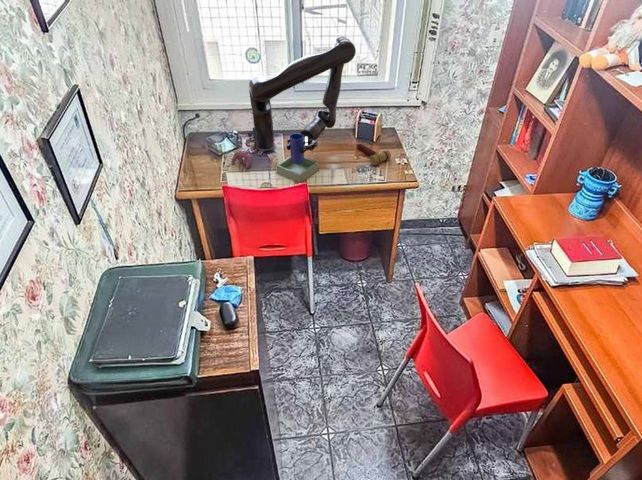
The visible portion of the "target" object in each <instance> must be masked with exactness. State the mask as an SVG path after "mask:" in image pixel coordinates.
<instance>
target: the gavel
mask: <svg viewBox="0 0 642 480" xmlns="http://www.w3.org/2000/svg"><path fill="white" fill-rule="evenodd" d="M355 146H356V147H357V148H358V149H359V150H360V151H362V152H364V153H366V154H368V155H369V162H370V164H371V165H372V166H376V165H378V164H379V163H382V162H385V161H388V160H390V159H391V158H392V154H391V152H390V151H389V149H386V150H383V151H382V152H380V153H378V152H377V151H376V150H373V149H371V148H370V147H368V146H366V145H364V144H362V143H355Z"/></svg>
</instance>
